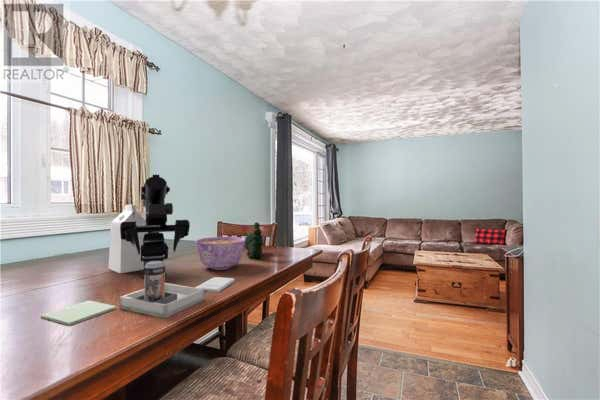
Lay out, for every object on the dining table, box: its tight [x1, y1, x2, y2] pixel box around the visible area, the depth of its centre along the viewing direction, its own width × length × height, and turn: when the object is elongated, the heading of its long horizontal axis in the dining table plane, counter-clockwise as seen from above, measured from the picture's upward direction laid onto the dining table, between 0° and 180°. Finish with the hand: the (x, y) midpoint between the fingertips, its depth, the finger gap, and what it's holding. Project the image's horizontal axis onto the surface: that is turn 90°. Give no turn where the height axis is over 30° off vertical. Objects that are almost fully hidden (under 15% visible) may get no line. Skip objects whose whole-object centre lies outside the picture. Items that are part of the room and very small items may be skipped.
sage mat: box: [40, 300, 117, 326], centre depth 73 cm, size 11×11×1 cm
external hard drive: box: [194, 276, 236, 293], centre depth 96 cm, size 2×8×12 cm
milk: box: [107, 204, 147, 274], centre depth 119 cm, size 12×12×26 cm
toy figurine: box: [244, 221, 264, 260], centre depth 144 cm, size 9×19×25 cm
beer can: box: [143, 260, 166, 302], centre depth 77 cm, size 5×5×12 cm
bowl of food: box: [195, 236, 245, 271], centre depth 121 cm, size 20×20×12 cm
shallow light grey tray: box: [118, 282, 206, 319], centre depth 80 cm, size 16×14×3 cm
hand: (157, 252), depth 84 cm, fingers open, 9 cm apart
